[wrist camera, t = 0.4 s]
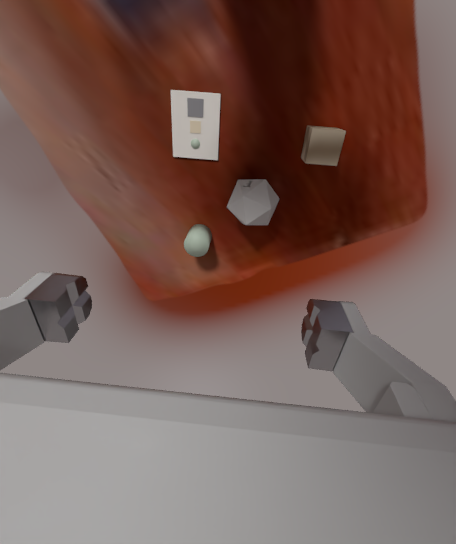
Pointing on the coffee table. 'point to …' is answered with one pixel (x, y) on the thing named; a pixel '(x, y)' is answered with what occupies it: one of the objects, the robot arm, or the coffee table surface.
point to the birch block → (322, 145)
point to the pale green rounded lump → (198, 240)
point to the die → (253, 202)
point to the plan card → (195, 124)
